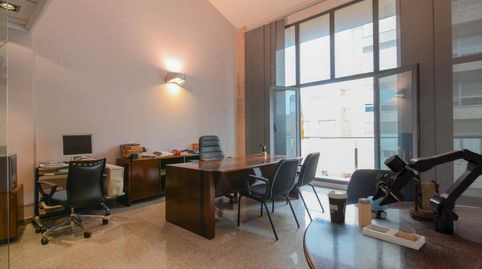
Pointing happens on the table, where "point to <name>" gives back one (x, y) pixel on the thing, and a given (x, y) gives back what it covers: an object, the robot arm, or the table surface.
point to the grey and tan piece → (407, 232)
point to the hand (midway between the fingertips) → (375, 202)
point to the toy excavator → (377, 208)
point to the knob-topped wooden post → (364, 212)
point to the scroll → (424, 200)
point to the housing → (392, 236)
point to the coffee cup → (337, 206)
